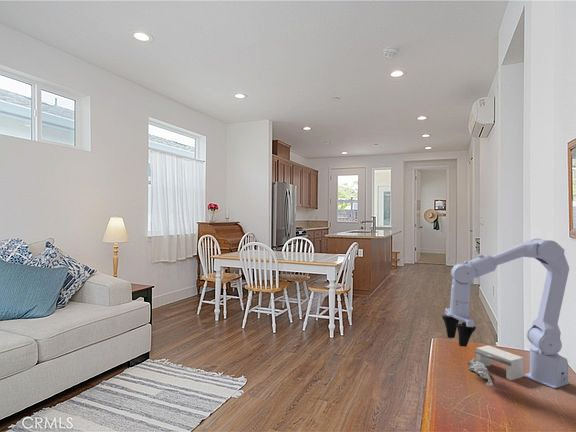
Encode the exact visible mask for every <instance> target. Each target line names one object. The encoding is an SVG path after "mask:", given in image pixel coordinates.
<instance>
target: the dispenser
mask: <svg viewBox="0 0 576 432" xmlns="http://www.w3.org/2000/svg"><path fill="white" fill-rule="evenodd" d="M474 354H476V358H475V359H476V361H478V362H481V363H483V364H484V366H485V367H489V366H492V365H493V361H495V362H498V363H501V364H504V365H506V366H505V369H506V370H505V372H506V373H505V374H506V376H505V377H506V380H510V381H514V380H517V379H520V378H523V377H524V357H523V356H521V355H517V354H514V353H512V352H508V351H506V350H502V349H500V348H497V347H494V346H491V345H488V344H487V345H483V346H479V347H476V348H475V350H474Z"/></svg>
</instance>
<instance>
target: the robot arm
mask: <svg viewBox="0 0 576 432" xmlns="http://www.w3.org/2000/svg"><path fill="white" fill-rule="evenodd" d="M520 258H533V259H535V260H536V261H538V262H539V263H540V264H541V265H542V266H544V268H545V270H546V276H545V280H544V284H543V290H542V295H541V300H540V304H539V308H538V313H537V317H536V318H535V319H534V320H533V321H532V324H531V326H530V328H529V329H528V330H527V332H526V338H527V340H528V341H529V343H530V346H529V372H528V373H525V374H524V373H523V377H525V378H527V379H529V380H532V381H534V382H537V383H539V384H542V385H544V386H547V387H549V388H553V389H558V388H560V387H564V386H566V385H569V384H570V381H569V362H568V359H567V358H566V357H564V356H562V355H560V354H559V352H561V350H562V348H563V344H562V343H563V342H562V339H561V330H560V327H559V324H558V322H559V319H560V314H561V309H562V305H563V300H564V297H565V290H566V286H567V282H568V278H569V277H568V276H569V271H570V265H569V263H568V261H567V258H566V256H565V248H563V247H562V245H560V244H559V243H558V242H556V241H555V240H546V239H543V238H542V239H541V238H532V239H531V240H526V241H522V242H520V243H519V244H517V245H513V246H512V247H510V248H507V249H505V250H502V251H500V252H498V253H496V254H494V255H489V254H482V253H480V254H478V255H477V257H476V258H475V257H474V258H473V259H470V260H464V261H463V263H457V264H455V265H453V267H452V268H451V270H450V275H451V277H452V281H451V285H450V286H451V288H450V300H449V302H450V304H449V307H445V310H444V314H445V315H442V316H441V318H442V320H443V323H444V326H445V330H446V335H447V338H448V339H455V337H456V334H457V333H458V345H459V346H460V347H465V348H466V347H467V346H468V344H469V341H470V339H471V336H472V335H473V334H474V332H475V331H476V330H477V327H476V325H475V321H474V320H473V319H472V317H471V316H470V314H469V313H470V312H469V311H470V299H471V283H472V282H473V281H474V279H477V278H479V277H483V276H484V275H487V274H490V273H491V272H495V271H496V269H497V268H498V267H497V266H499V265H503V264H506V263H508V262H509V263H510V262H511V261H515V260H517V259H520ZM459 322H461V323H459Z"/></svg>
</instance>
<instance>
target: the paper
mask: <svg viewBox="0 0 576 432" xmlns="http://www.w3.org/2000/svg"><path fill="white" fill-rule="evenodd" d="M467 365H469V367H468V369H469V370H468V371H473V372H475V373H476V374H477V375H479V377H480V378H481V379H485V380H488V381H486V383H485V386H490V387H494V383H493V380H492V377H490V376H492V373H491V372H490V371H489V370H488V368H487V366H484V364H483V363H481V362H478V361H476V358H475V357H473V358H472V359H471V360H470V361H468V362H467Z"/></svg>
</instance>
